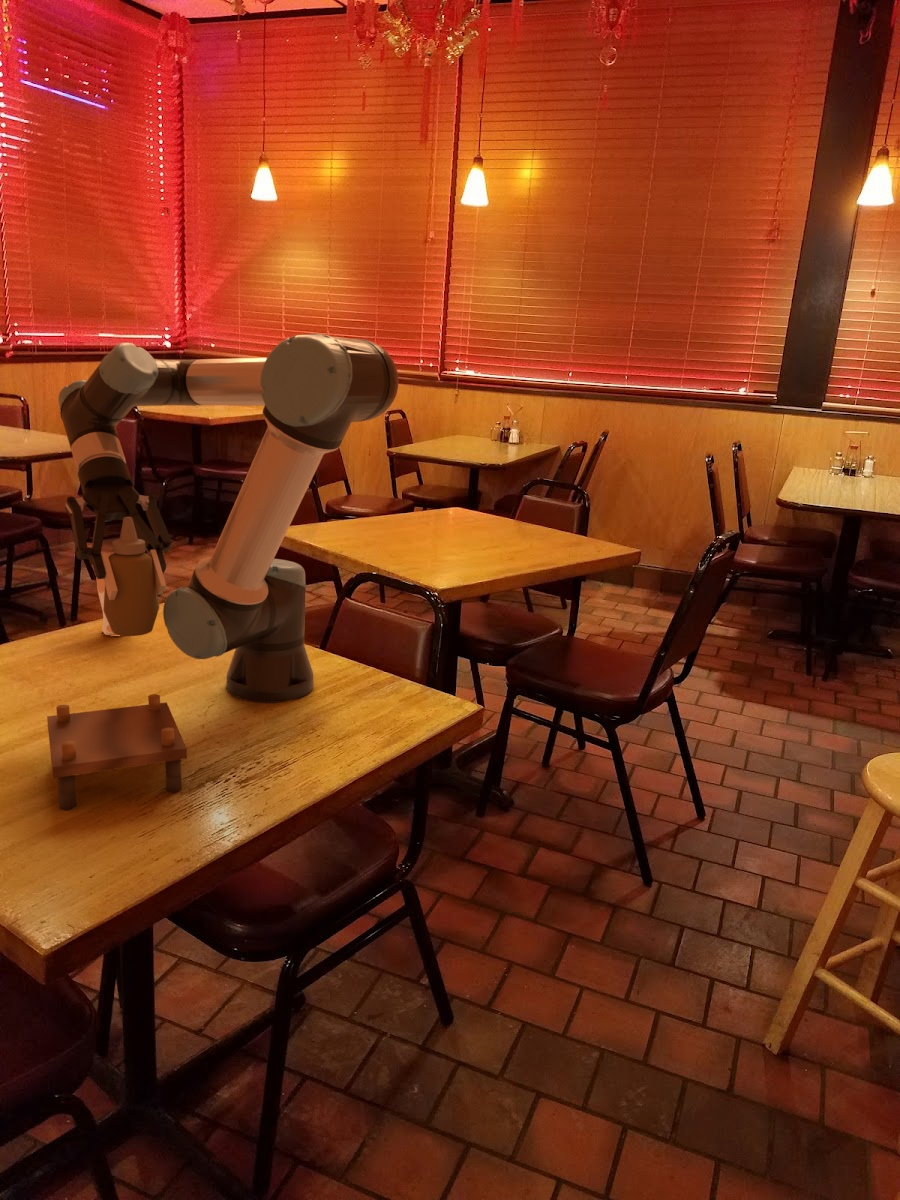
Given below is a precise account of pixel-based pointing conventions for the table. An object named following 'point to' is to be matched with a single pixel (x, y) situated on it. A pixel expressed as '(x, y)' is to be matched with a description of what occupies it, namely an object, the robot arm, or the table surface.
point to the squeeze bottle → (131, 585)
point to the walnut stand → (113, 744)
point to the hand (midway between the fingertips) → (138, 592)
